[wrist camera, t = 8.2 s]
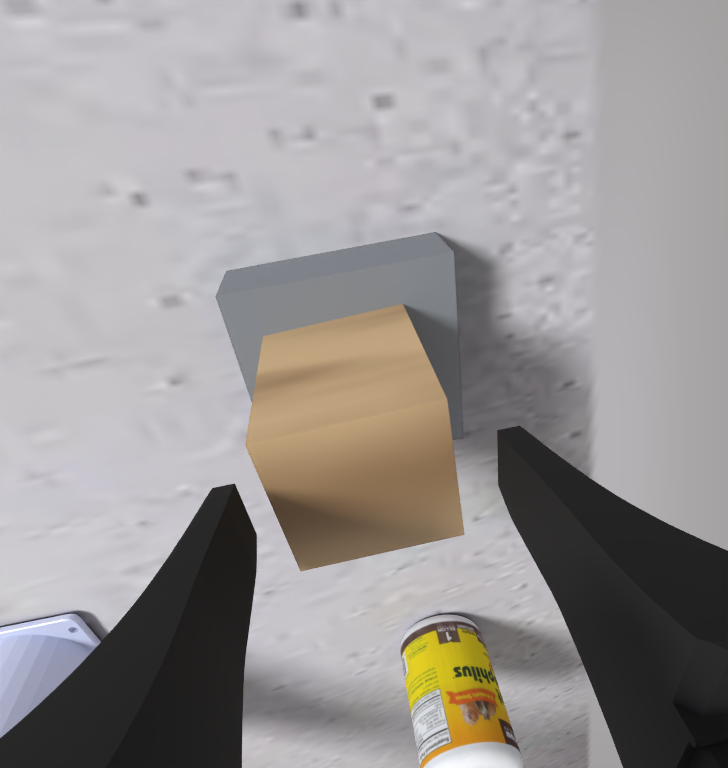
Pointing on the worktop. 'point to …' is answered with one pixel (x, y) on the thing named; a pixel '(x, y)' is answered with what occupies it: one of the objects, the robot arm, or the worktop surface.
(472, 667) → the supplement bottle
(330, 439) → the oak block
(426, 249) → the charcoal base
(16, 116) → the worktop surface
